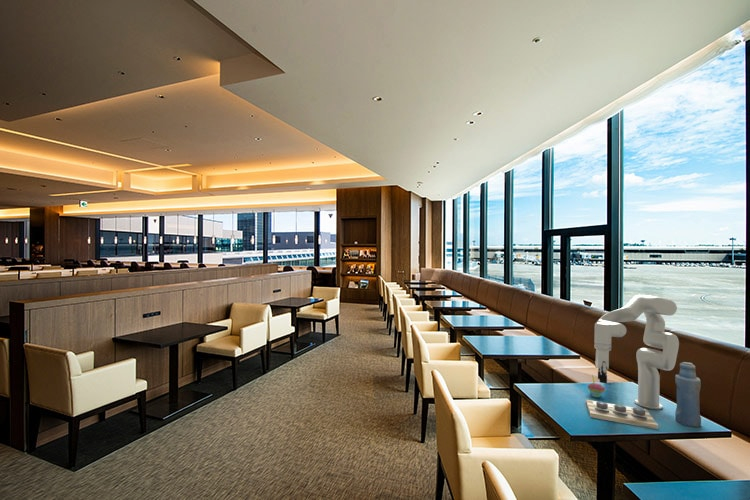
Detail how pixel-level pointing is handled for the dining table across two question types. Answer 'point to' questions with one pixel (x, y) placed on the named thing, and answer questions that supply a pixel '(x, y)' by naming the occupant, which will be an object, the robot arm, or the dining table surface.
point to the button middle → (620, 408)
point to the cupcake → (596, 389)
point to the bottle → (688, 396)
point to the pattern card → (613, 406)
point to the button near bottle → (639, 411)
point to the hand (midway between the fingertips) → (602, 380)
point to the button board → (621, 416)
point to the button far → (602, 405)
